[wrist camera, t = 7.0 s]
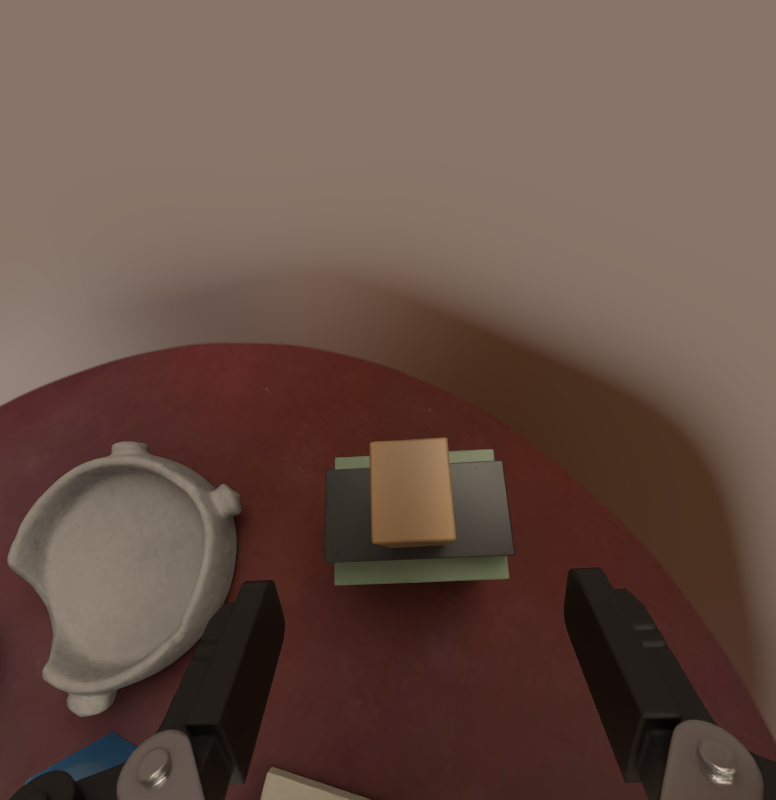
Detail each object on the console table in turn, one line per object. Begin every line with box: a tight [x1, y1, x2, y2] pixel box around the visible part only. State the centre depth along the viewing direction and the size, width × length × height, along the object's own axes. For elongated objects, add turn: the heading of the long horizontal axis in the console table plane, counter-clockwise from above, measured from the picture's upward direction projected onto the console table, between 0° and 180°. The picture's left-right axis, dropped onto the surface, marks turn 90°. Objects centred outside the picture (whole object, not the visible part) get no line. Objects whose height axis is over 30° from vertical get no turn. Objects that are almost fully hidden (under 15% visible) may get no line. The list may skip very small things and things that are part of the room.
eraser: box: [325, 438, 515, 563], centre depth 17 cm, size 8×4×8 cm, turn 92°
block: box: [334, 449, 509, 585], centre depth 25 cm, size 8×6×10 cm
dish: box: [8, 441, 242, 717], centre depth 28 cm, size 14×14×5 cm
